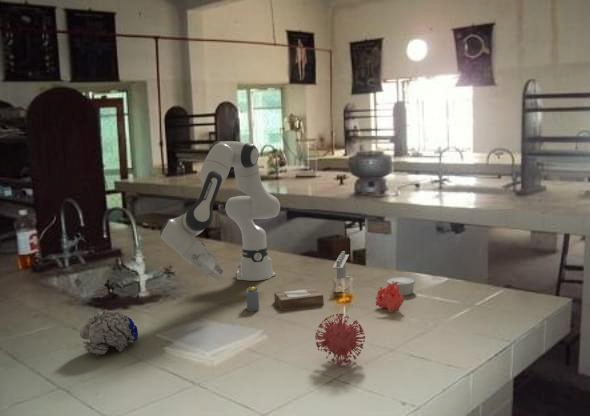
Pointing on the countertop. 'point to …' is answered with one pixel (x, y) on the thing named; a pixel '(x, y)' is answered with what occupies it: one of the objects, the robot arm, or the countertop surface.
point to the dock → (298, 298)
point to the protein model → (389, 297)
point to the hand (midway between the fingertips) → (221, 276)
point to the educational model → (108, 332)
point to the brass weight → (252, 289)
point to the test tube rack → (341, 266)
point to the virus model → (340, 338)
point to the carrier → (252, 300)
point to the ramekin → (403, 285)
